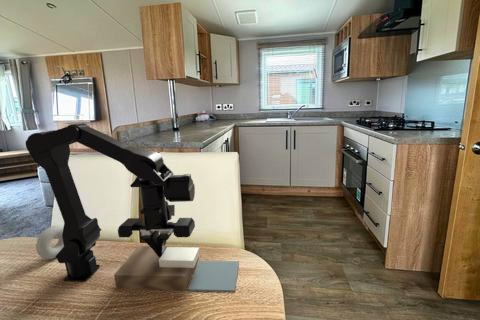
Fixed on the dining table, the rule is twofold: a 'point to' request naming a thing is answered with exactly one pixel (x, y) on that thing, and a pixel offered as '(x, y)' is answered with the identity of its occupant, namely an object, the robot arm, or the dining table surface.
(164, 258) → the white rectangular block
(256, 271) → the dining table surface
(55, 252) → the donut
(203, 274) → the mat
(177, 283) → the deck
